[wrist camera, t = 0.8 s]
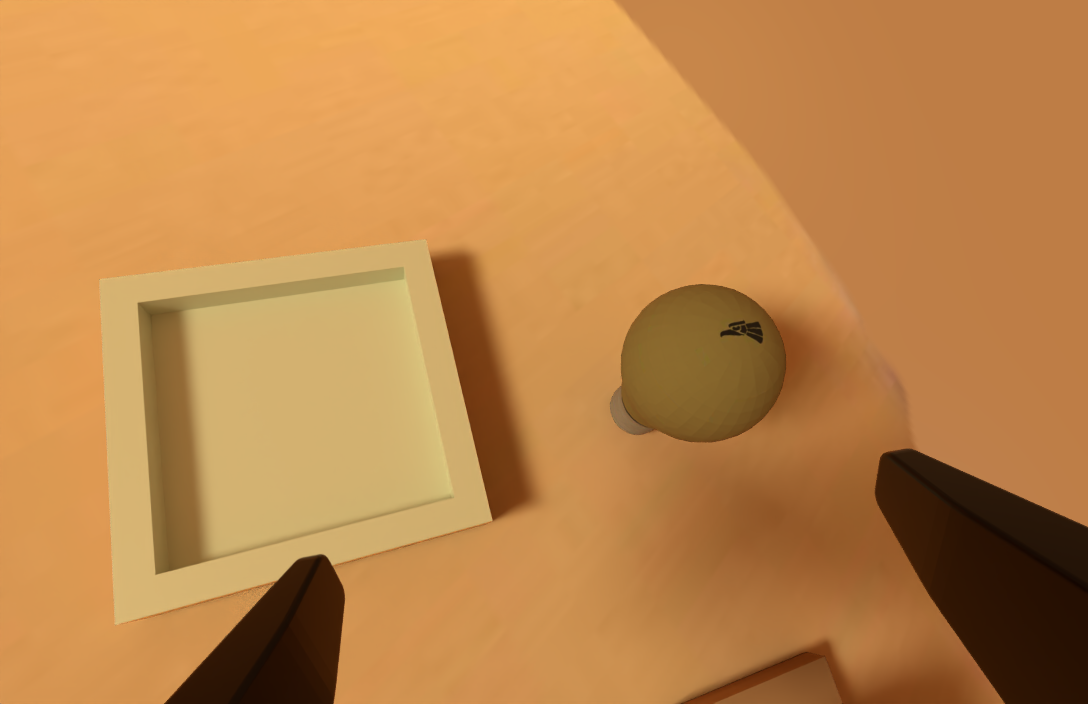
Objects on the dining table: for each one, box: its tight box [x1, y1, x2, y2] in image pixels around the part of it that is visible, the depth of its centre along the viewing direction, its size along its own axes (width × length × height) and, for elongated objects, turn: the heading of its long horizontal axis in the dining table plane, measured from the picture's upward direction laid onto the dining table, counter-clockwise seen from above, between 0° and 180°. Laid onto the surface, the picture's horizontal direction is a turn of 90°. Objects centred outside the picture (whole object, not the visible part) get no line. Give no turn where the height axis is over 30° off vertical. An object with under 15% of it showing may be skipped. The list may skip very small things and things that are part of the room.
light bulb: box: [610, 284, 786, 442], centre depth 22 cm, size 6×6×10 cm
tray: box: [99, 239, 492, 625], centre depth 22 cm, size 12×12×2 cm
